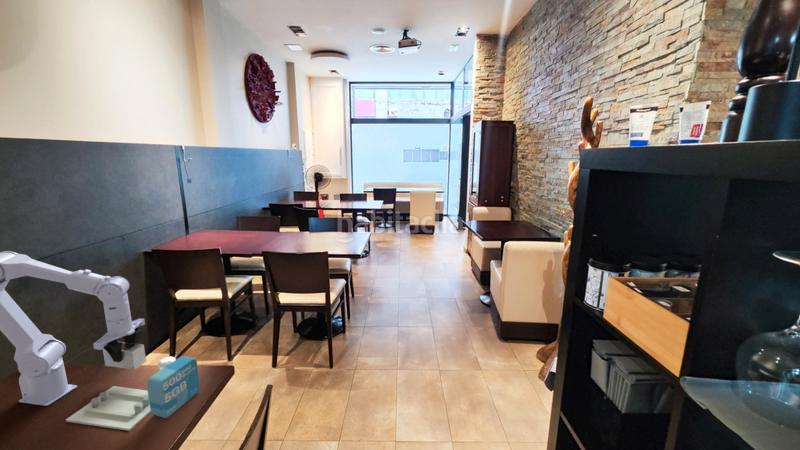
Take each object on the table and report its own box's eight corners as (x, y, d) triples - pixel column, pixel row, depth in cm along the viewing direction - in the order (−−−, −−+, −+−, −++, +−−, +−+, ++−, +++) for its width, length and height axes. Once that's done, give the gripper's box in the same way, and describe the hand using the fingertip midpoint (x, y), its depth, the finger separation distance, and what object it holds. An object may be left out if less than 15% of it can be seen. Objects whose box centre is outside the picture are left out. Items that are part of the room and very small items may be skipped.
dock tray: (66, 421, 86) (64, 412, 86) (113, 387, 99) (112, 379, 98) (129, 430, 84) (128, 421, 84) (169, 395, 97) (168, 387, 97)
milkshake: (184, 381, 103) (180, 353, 101) (165, 391, 98) (161, 362, 96) (176, 376, 105) (173, 349, 103) (158, 385, 101) (154, 357, 99)
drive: (105, 365, 100) (102, 348, 98) (118, 357, 103) (115, 340, 102) (134, 369, 98) (132, 351, 97) (146, 361, 102) (143, 344, 101)
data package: (164, 421, 88) (159, 383, 85) (151, 417, 89) (145, 379, 86) (200, 390, 99) (196, 356, 97) (188, 387, 100) (184, 353, 98)
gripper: (106, 331, 90) (113, 373, 93) (151, 307, 104) (156, 344, 107) (83, 328, 91) (91, 370, 94) (131, 305, 105) (137, 342, 108)
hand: (124, 356), depth 100 cm, fingers closed on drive, 4 cm apart
